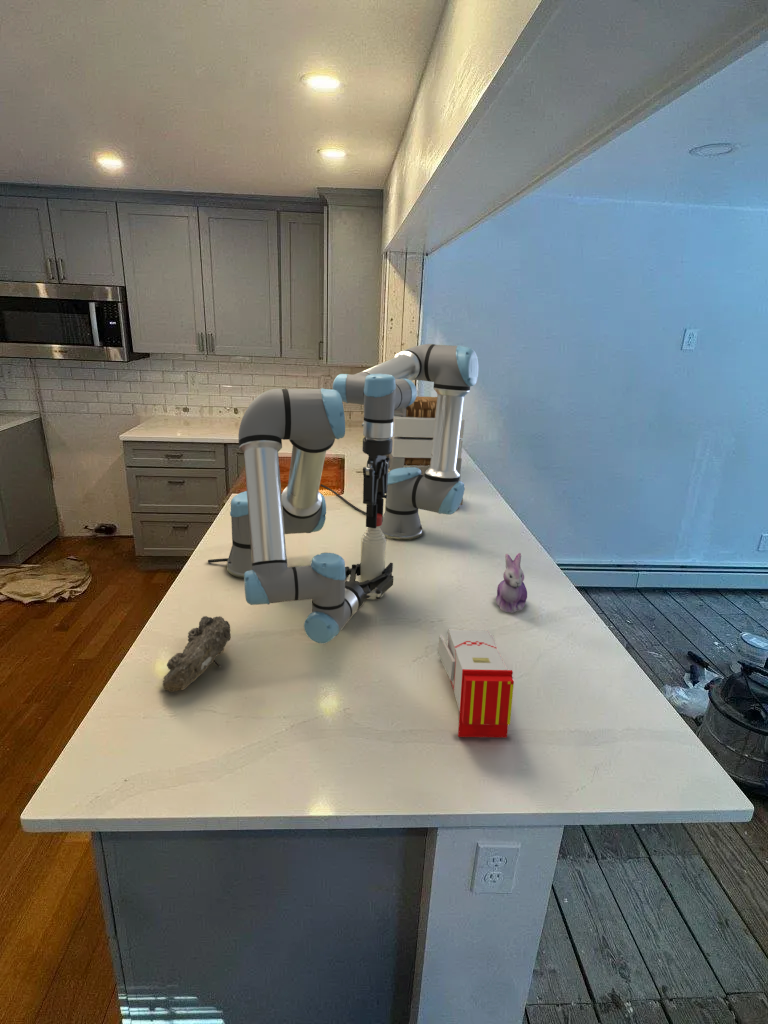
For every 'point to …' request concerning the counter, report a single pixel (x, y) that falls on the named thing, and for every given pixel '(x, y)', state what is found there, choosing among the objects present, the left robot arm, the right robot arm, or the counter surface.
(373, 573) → the bottle
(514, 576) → the figurine
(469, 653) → the toy
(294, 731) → the counter surface
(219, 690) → the counter surface
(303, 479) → the left robot arm
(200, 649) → the fossil
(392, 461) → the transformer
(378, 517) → the cap
